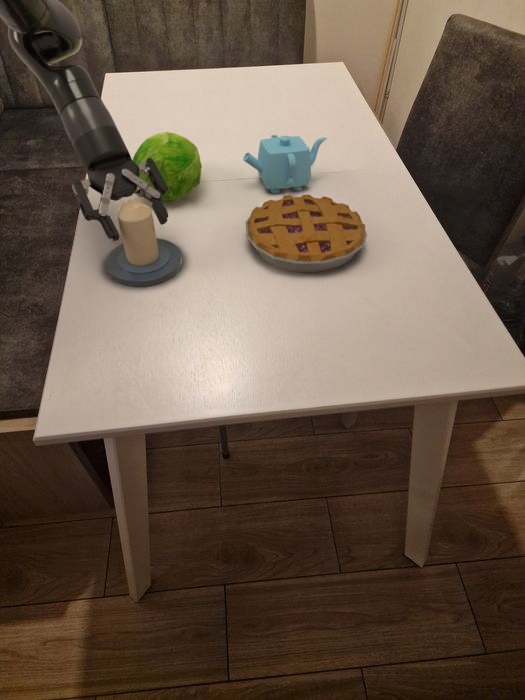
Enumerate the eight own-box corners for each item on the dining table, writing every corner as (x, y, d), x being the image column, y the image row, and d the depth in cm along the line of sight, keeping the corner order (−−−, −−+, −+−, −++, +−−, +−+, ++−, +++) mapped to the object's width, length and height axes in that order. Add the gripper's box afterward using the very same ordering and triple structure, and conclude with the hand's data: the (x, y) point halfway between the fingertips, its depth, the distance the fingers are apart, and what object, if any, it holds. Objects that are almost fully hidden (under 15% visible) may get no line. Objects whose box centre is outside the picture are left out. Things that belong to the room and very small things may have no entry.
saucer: (103, 289, 79) (101, 283, 78) (110, 245, 88) (108, 239, 87) (183, 283, 81) (182, 276, 80) (181, 240, 90) (180, 234, 89)
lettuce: (208, 168, 111) (204, 113, 102) (201, 213, 97) (195, 153, 88) (147, 167, 111) (138, 113, 102) (132, 212, 97) (120, 153, 88)
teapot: (250, 202, 100) (250, 154, 93) (236, 172, 109) (234, 126, 102) (332, 192, 103) (338, 145, 96) (311, 164, 113) (315, 119, 105)
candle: (165, 256, 84) (157, 203, 77) (139, 270, 81) (128, 216, 74) (146, 244, 86) (136, 192, 79) (120, 257, 84) (107, 204, 76)
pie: (341, 207, 99) (344, 184, 95) (382, 270, 84) (387, 245, 80) (235, 218, 95) (235, 195, 92) (258, 286, 80) (259, 261, 77)
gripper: (52, 136, 70) (104, 238, 72) (140, 114, 77) (186, 209, 78) (50, 159, 77) (97, 252, 79) (131, 137, 83) (173, 224, 85)
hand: (141, 231), depth 79 cm, fingers open, 8 cm apart
